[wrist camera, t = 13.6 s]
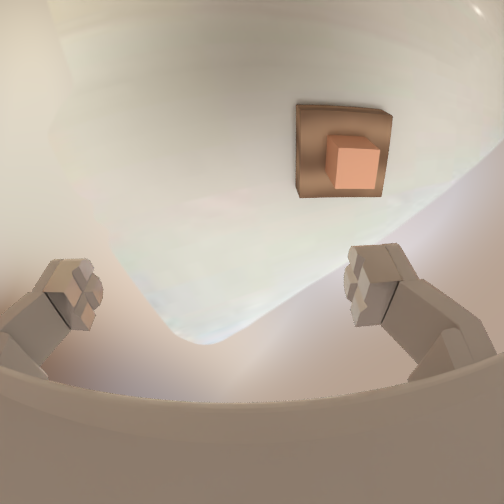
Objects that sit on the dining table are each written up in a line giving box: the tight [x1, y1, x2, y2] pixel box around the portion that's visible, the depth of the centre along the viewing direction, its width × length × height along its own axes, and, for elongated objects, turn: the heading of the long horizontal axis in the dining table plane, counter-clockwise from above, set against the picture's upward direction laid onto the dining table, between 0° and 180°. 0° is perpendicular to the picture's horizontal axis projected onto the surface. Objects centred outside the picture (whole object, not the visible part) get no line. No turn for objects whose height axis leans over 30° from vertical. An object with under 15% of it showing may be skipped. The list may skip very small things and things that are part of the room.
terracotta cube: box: [325, 135, 380, 189], centre depth 32 cm, size 5×5×5 cm
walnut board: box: [296, 105, 393, 198], centre depth 36 cm, size 12×12×4 cm
